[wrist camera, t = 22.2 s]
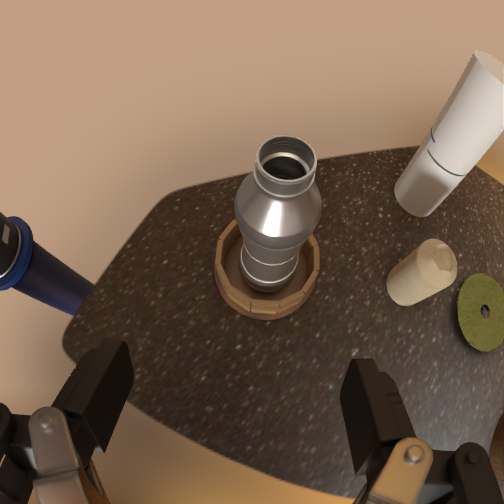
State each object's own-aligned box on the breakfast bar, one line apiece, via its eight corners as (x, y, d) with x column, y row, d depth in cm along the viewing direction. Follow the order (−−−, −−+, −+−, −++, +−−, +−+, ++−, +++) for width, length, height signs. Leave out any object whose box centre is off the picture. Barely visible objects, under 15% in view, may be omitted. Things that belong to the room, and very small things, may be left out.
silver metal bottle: (304, 258, 36) (355, 144, 18) (278, 307, 34) (314, 226, 16) (256, 233, 38) (265, 105, 19) (228, 280, 35) (208, 175, 17)
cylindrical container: (429, 181, 43) (510, 66, 20) (437, 220, 40) (538, 107, 17) (391, 173, 43) (464, 41, 20) (397, 213, 40) (492, 80, 17)
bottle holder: (209, 316, 35) (203, 307, 30) (220, 221, 39) (217, 201, 35) (314, 322, 35) (325, 314, 30) (314, 228, 39) (323, 209, 34)
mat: (474, 369, 32) (482, 368, 30) (437, 306, 35) (444, 303, 33) (510, 320, 34) (518, 317, 32) (476, 263, 38) (484, 258, 36)
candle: (425, 302, 35) (470, 279, 26) (390, 309, 35) (432, 287, 26) (416, 263, 37) (456, 231, 28) (381, 267, 37) (417, 234, 28)
